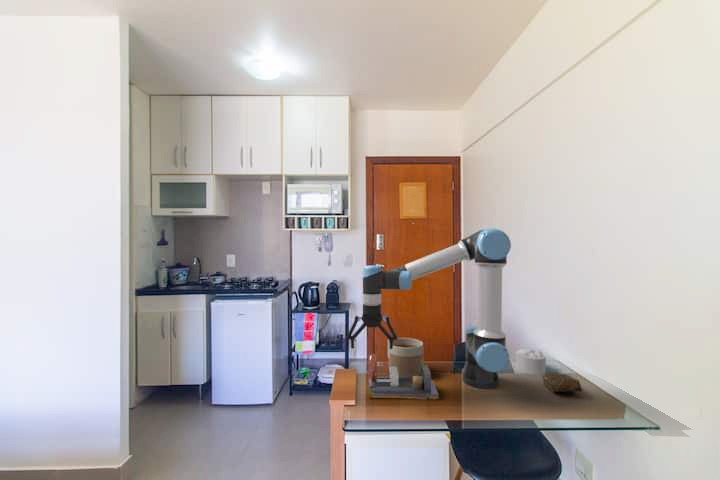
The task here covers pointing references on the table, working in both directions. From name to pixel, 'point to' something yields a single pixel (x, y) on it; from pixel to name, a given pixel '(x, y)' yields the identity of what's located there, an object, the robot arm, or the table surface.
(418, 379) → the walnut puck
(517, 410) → the table surface
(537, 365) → the lumpy-topped squat cylinder
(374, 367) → the press handle
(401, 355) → the planter
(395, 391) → the press bed
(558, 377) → the stone
